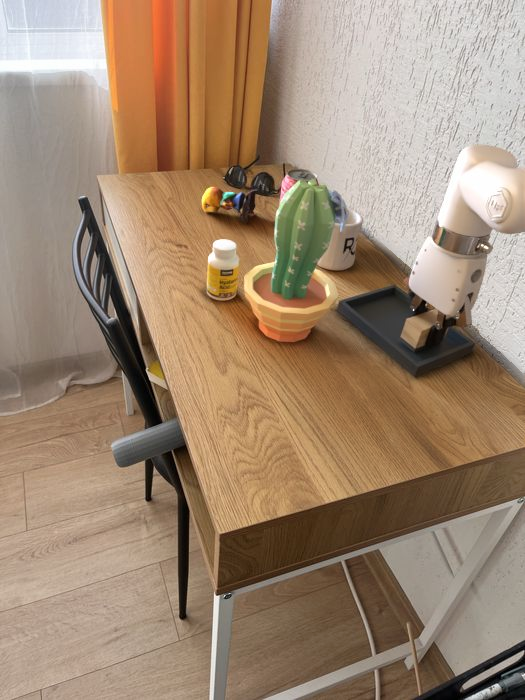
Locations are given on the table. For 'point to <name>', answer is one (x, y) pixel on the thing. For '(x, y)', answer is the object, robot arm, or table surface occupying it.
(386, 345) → the tray
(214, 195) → the figurine
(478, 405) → the table surface
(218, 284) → the supplement bottle
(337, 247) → the mug
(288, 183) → the beverage can
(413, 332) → the wooden block
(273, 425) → the table surface
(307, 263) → the potted cactus
